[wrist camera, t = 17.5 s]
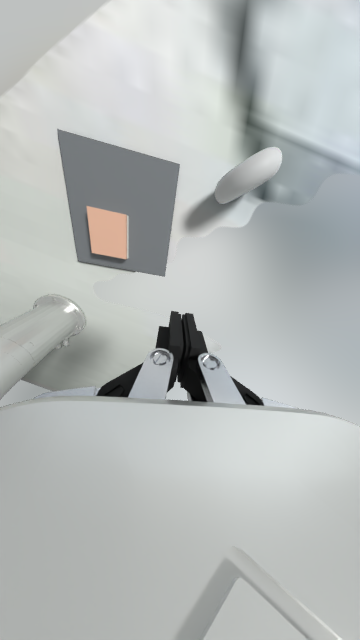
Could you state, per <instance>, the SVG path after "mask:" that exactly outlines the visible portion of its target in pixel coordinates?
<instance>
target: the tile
mask: <svg viewBox="0 0 360 640" xmlns="http://www.w3.org/2000/svg"><path fill="white" fill-rule="evenodd" d="M87 215H88V223H89V232H90V241H91V250H92V253H95V254H100V255H106V256H111V257H116V258H122V259H128V221H129V216H127V215H125V214H121V213H116V212H112V211H107V210H103V209H98V208H94V207H90V206H87Z"/></svg>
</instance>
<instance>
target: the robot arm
mask: <svg viewBox="0 0 360 640" xmlns="http://www.w3.org/2000/svg"><path fill="white" fill-rule="evenodd" d="M85 323H86V320H85V316H84V314H83V312H82V310H81V309H80V308H79V307H78V306H77V305H76V304H75V303H74V302H72V301H71V300H69V299H67V298H65V297H62V296H58V295H46V296H43V297H41V298H39V299H37V300H36V301H35V303H34V306H33V309H32V310H30V311H28V312H26V313H24V314H22V315H20V316H18V317H16V318H14V319H12V320H10V321H8V322H6V323H4V324H2V325H0V400H1V398H2V397H3V396H4V395H5V394H6V393H7V392H8V391H9V390H10V389H11V388H12V387H13V386H14V385H15V384H16V383H17V382H18V381H19V380H20V379H21V378H22V377H23V376H24V375H26V374H27V373H28V372H29V371H30V370H31V369H32V368H33V367H34V366H35V365H36V364H38V363H39V362H40V361H41V360H42V359H43V358H44V357H45V356H46V355H47V354H48V353H50V352H51V351H52V350H53V349H59V348H61V347H62V344H61V341H63V342H62V343H63V346H68V345H69V342H68V338H69V337H70V336H73V335H76V334H78V333H80V332H81V331H82V330H83V329H84V327H85ZM177 376H178V377H177ZM176 377H177V378H178V382H180V383H181V388H184V389H185V390H187V397H188V401H180V400H165V399H166V393H167V392H168V391H169V390H170V389H171V388H173V386H174V382H176ZM0 640H360V426H358V425H356V424H354V423H351V422H349V421H347V420H344V419H342V418H339V417H335V416H332V415H329V414H325V413H321V412H316V411H311V410H304V409H299V408H296V407H293V406H290V405H286V404H283V403H279V402H276V401H273V400H269V399H266V398H261V399H260V398H259V397H258V396H256V394H254V393H253V392H252V391H250V390H249V389H248V388H246V387H245V386H243V385H242V384H240V383H239V382H237V381H236V380H235V379H234V378H232V377H231V376H230V375H229V374H228V372H227V370H226V368H225V366H224V365H223V363H222V361H221V360H220V359H219V358H218V357H217V356H215V355H213V354H210V353H208V351H207V348H206V344H205V341H204V337H203V334H202V332H201V331H197V329H196V325H195V321H194V317H193V314H189V313H186V314H185V315H182V320H181V314H178V312H174V311H171V316H170V322H169V327H162V326H159V331H158V337H157V343H156V349H153V350H151V351H150V352H149V353H148V354H147V357H146V359H145V361H144V363H142V364H140V365H138V366H137V367H135V368H133V369H131V370H129V371H128V372H126V373H124V374H122V375H120V376H119V377H117V378H115V379H113V380H112V381H110V382H108V383H106V384H105V385H104V386H102V387H101V388H96V386H92V387H84V388H76V389H69V390H61V391H53V392H47V393H44V394H41V395H39V396H37V397H35V398H34V399H31V400H26V401H22V402H18V403H15V404H10V405H6V406H3V407H0Z"/></svg>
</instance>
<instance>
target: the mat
mask: <svg viewBox="0 0 360 640" xmlns="http://www.w3.org/2000/svg"><path fill="white" fill-rule="evenodd" d="M57 130H58V137H59V143H60V149H61V156H62V162H63V168H64V175H65V181H66V187H67V194H68V200H69V206H70V213H71V219H72V225H73V232H74V238H75V244H76V250H77V257H78V261H81V262H87V263H92V264H98V265H103V266H109V267H114V268H120V269H125V270H131V271H136V272H142V273H148V274H153V275H159V276H165V271H166V264H167V256H168V249H169V241H170V234H171V226H172V219H173V211H174V204H175V196H176V188H177V181H178V173H179V166H180V164H177V163H173V162H170V161H167V160H163V159H160V158H156V157H153V156H149V155H146V154H142V153H139V152H135V151H132V150H128V149H125V148H121V147H118V146H114V145H111V144H107V143H104V142H100V141H97V140H94V139H90V138H87V137H83V136H80V135H76V134H73V133H69V132H66V131H62V130H59V129H57ZM87 206H90V207H94V208H98V209H103V210H107V211H112V212H116V213H121V214H125V215H127V216H129V221H128V259H122V258H116V257H111V256H106V255H100V254H95V253H92V250H91V241H90V232H89V223H88V215H87Z"/></svg>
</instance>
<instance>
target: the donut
mask: <svg viewBox="0 0 360 640" xmlns="http://www.w3.org/2000/svg"><path fill="white" fill-rule="evenodd" d="M281 162H282V153H281V151H280V149H279V148H276V147H269V148H266V149H264V150H262V151H260V152H258V153H256V154H254V155H253V156H251V157H249V158H248V159H246V160H245V161H243V162H242V163H240V164H239V165H237V166H236V167H235V168H233V169H232V170H231V171H229V172H228V173H227V174H226V175H225V176H223V177H222V179H221V180H220V181H219V182H218V184H217V186H216V189H215V198H216V200H217V202H218V203H220V204H225V203H228V202H230V201H232V200H234V199H236V198H238V197H240V196H242V195H244V194H246V193H247V192H249V191H251V190H253V189H254V188H256V187H258V186H259V185H261V184H263V183H264V182H266V181H267V180H269V179H270V178H272V177H273V176H274V175H275V174H276V172H277V171H278V169H279V167H280V165H281Z"/></svg>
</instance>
